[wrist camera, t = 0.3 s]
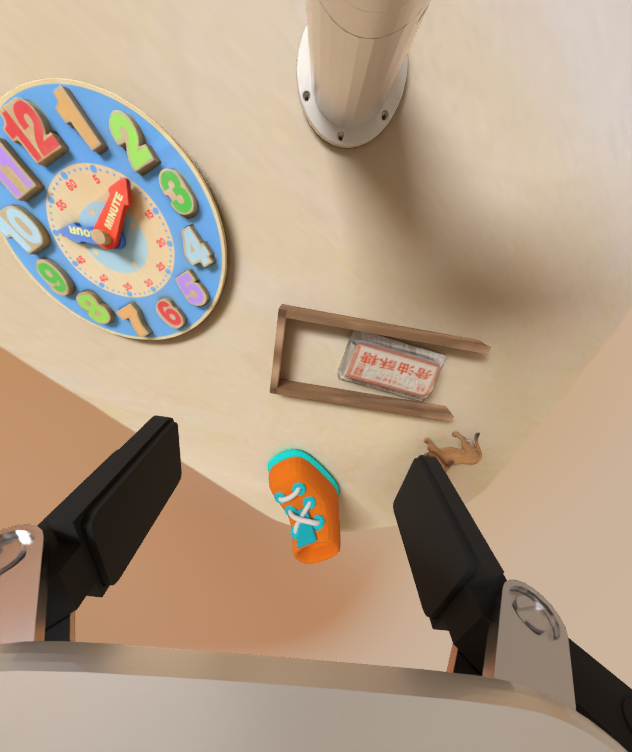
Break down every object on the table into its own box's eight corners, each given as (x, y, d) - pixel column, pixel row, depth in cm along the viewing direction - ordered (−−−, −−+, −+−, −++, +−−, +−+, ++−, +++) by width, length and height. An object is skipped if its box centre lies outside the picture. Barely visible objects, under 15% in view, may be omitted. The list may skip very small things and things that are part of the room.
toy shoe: (300, 438, 55) (294, 500, 41) (346, 488, 62) (354, 554, 49) (258, 461, 58) (240, 524, 45) (307, 506, 65) (304, 572, 52)
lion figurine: (413, 458, 57) (428, 493, 49) (407, 442, 55) (422, 475, 47) (479, 439, 54) (507, 472, 46) (476, 421, 52) (504, 453, 44)
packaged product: (336, 386, 43) (356, 334, 39) (334, 374, 47) (353, 325, 43) (429, 411, 45) (458, 364, 41) (419, 397, 50) (445, 353, 45)
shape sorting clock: (124, 360, 47) (98, 375, 41) (-37, 173, 34) (-103, 159, 29) (266, 293, 41) (258, 300, 35) (136, 37, 28) (93, -13, 23)
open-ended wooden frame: (281, 304, 41) (278, 308, 38) (478, 340, 43) (490, 347, 40) (272, 383, 48) (269, 392, 45) (442, 410, 50) (450, 421, 47)
